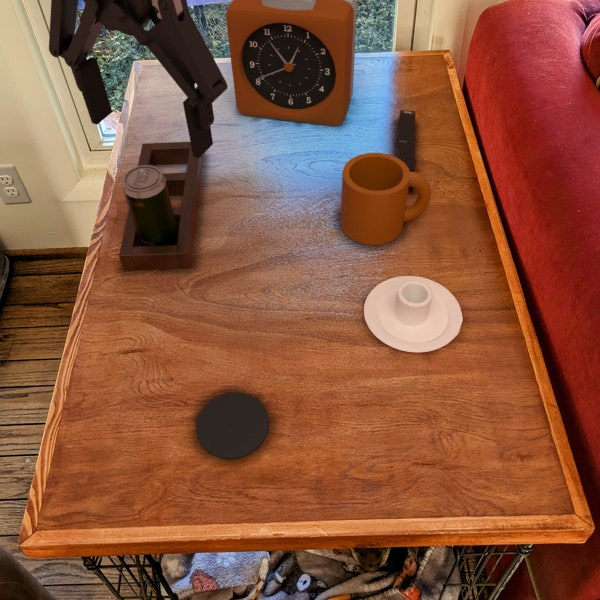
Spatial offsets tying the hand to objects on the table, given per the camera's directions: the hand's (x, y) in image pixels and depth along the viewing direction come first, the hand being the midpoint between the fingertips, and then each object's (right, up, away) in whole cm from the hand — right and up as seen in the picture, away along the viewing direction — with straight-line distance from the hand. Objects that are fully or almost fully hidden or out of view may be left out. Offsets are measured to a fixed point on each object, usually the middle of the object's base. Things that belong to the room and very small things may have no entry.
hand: (151, 133), depth 69 cm
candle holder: (+30, -20, +10) cm, 38 cm away
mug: (+28, -8, +20) cm, 35 cm away
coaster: (+9, -32, 0) cm, 33 cm away
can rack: (-3, -5, +23) cm, 24 cm away
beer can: (-3, -11, +18) cm, 22 cm away
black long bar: (+33, +4, +29) cm, 44 cm away
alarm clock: (+15, +14, +38) cm, 44 cm away
